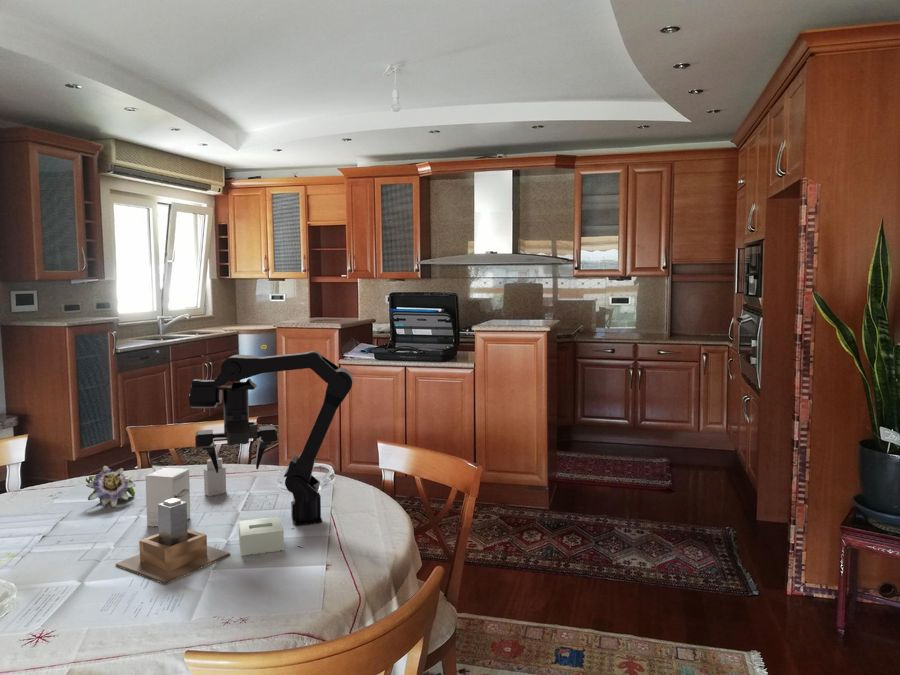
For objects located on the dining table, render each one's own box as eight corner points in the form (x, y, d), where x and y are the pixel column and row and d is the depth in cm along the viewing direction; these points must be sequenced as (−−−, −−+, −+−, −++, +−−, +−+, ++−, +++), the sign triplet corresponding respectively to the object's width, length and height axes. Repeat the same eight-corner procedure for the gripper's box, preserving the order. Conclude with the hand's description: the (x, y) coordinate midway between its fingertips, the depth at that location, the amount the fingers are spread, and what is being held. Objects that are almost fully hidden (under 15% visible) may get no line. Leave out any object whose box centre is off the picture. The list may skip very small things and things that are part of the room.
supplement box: (173, 528, 158) (171, 477, 156) (146, 526, 159) (144, 475, 158) (191, 517, 165) (190, 468, 164) (165, 515, 166) (163, 466, 165)
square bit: (176, 552, 143) (174, 496, 142) (188, 556, 141) (186, 499, 140) (159, 559, 139) (157, 501, 138) (172, 563, 137) (169, 505, 136)
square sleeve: (181, 539, 151) (181, 518, 151) (230, 555, 143) (229, 532, 143) (115, 565, 137) (114, 542, 137) (165, 584, 129) (164, 559, 129)
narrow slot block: (279, 535, 154) (279, 516, 154) (283, 550, 146) (283, 530, 145) (239, 540, 151) (238, 521, 151) (241, 555, 143) (240, 535, 142)
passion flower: (114, 526, 173) (89, 499, 166) (94, 510, 179) (69, 483, 172) (149, 494, 179) (127, 467, 172) (129, 480, 185) (106, 452, 178)
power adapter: (227, 492, 184) (226, 450, 183) (208, 496, 180) (207, 453, 179) (222, 489, 187) (221, 448, 185) (203, 494, 183) (202, 451, 182)
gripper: (194, 416, 148) (196, 484, 150) (279, 411, 155) (280, 476, 156) (194, 407, 159) (196, 470, 160) (274, 403, 165) (275, 463, 167)
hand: (237, 470), depth 161 cm, fingers open, 9 cm apart
